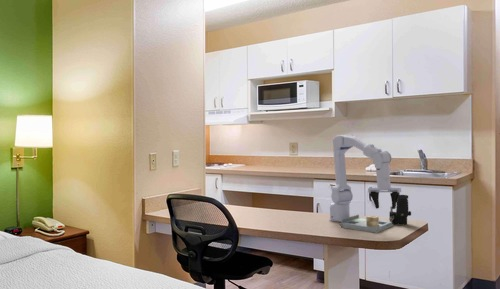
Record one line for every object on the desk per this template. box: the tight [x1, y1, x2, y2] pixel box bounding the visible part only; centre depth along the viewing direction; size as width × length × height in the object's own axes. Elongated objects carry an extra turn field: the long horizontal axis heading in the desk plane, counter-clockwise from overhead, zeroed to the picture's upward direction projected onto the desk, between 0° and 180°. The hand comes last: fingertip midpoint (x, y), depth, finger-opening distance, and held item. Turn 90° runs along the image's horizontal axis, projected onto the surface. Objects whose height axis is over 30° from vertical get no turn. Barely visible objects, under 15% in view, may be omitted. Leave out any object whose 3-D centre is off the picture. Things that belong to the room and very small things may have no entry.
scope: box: [388, 194, 412, 226], centre depth 200 cm, size 8×14×10 cm
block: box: [366, 215, 380, 227], centre depth 189 cm, size 4×4×4 cm
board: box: [340, 214, 393, 234], centre depth 196 cm, size 18×16×4 cm
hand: (385, 208), depth 185 cm, fingers open, 7 cm apart
